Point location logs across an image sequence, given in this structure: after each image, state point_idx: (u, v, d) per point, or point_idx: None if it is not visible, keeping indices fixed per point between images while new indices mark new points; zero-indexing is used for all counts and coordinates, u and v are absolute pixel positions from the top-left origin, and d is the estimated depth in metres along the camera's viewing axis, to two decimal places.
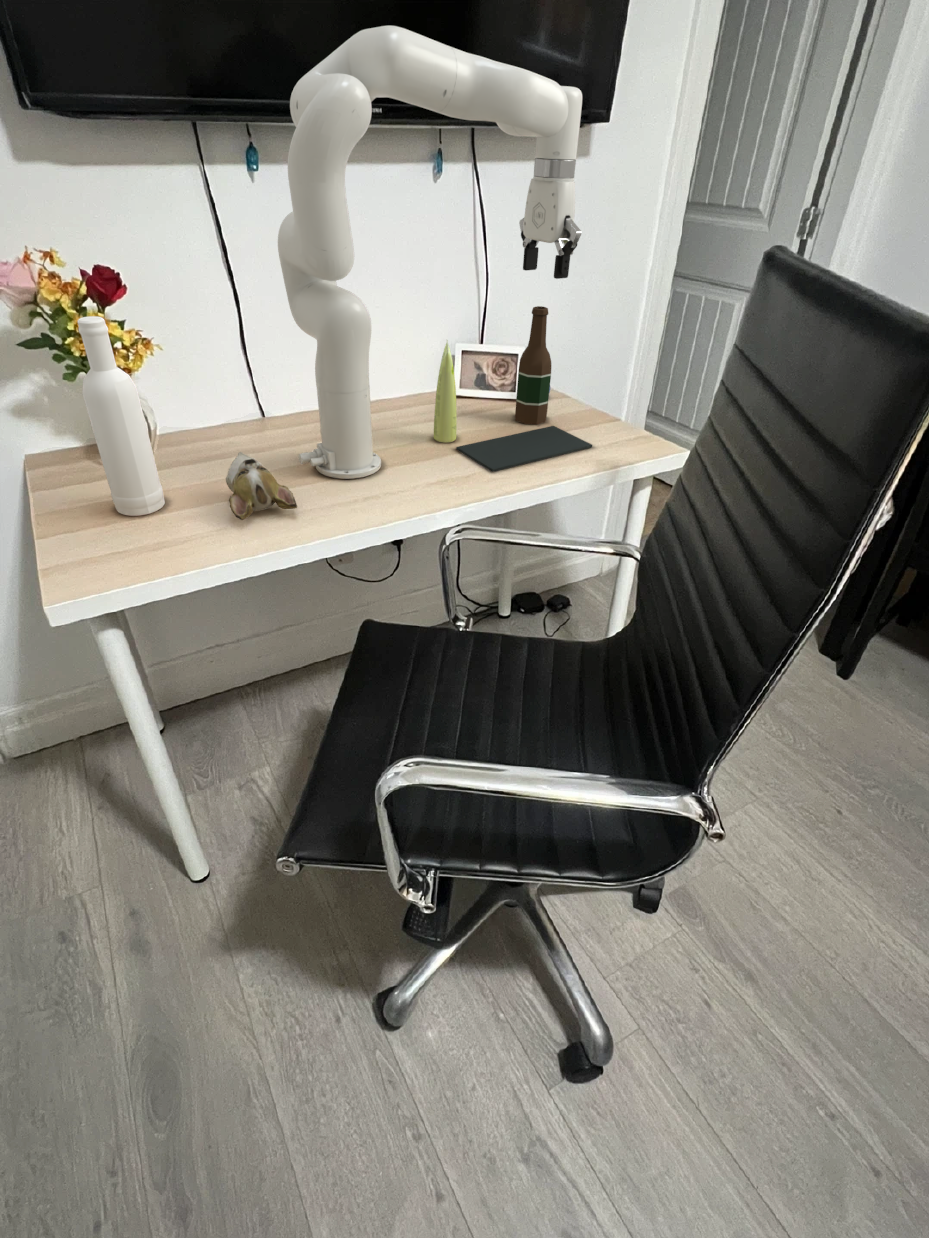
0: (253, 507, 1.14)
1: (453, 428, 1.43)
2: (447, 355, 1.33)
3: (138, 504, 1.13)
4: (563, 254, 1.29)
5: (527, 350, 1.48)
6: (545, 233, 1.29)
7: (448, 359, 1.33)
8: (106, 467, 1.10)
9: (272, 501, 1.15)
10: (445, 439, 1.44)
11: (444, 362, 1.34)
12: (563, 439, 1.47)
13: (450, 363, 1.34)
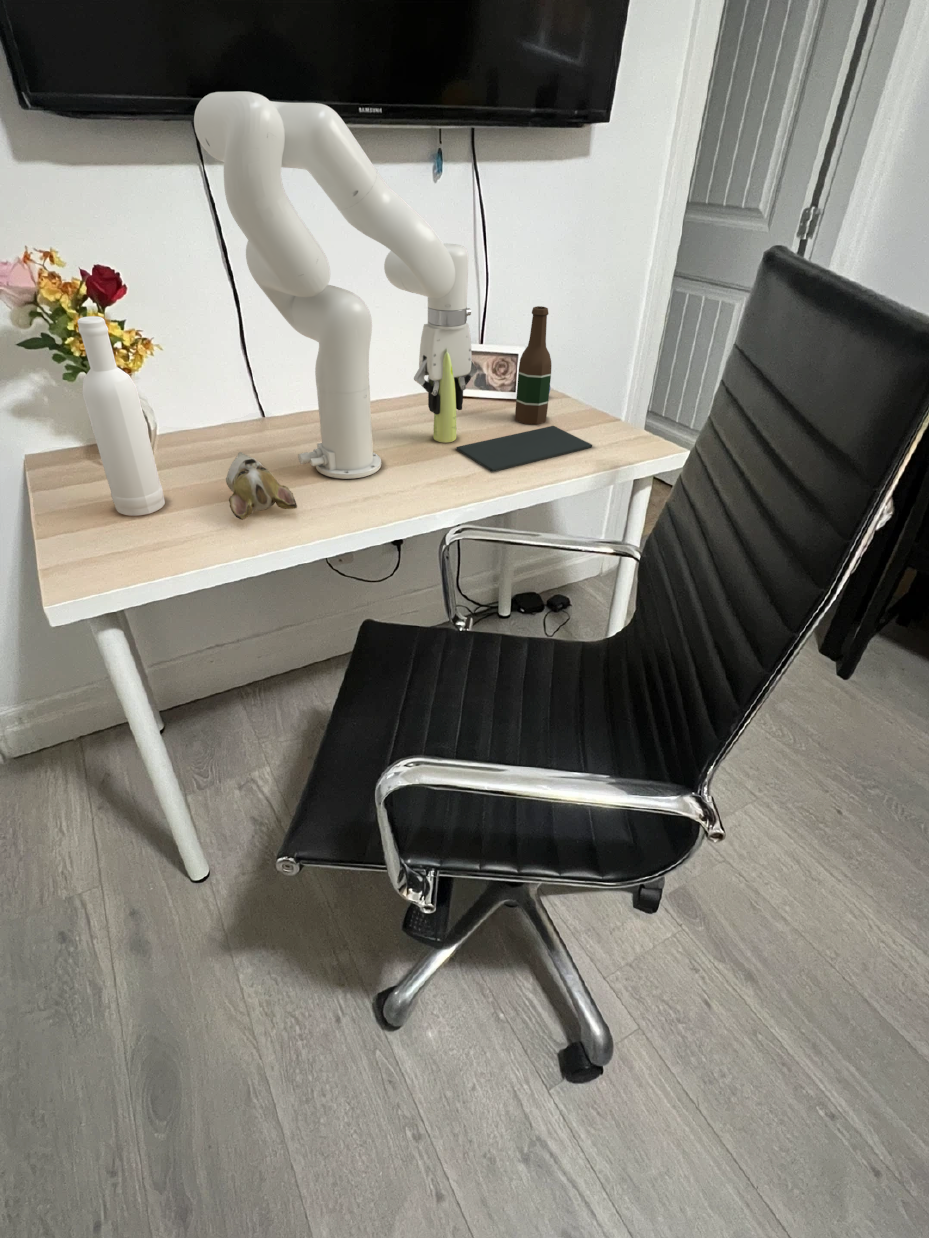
0: (253, 507, 1.14)
1: (453, 428, 1.43)
2: (446, 355, 1.33)
3: (138, 504, 1.13)
4: (427, 391, 1.39)
5: (527, 350, 1.48)
6: None
7: (447, 359, 1.33)
8: (106, 467, 1.10)
9: (272, 501, 1.15)
10: (445, 439, 1.44)
11: (443, 362, 1.34)
12: (563, 439, 1.47)
13: (449, 363, 1.34)
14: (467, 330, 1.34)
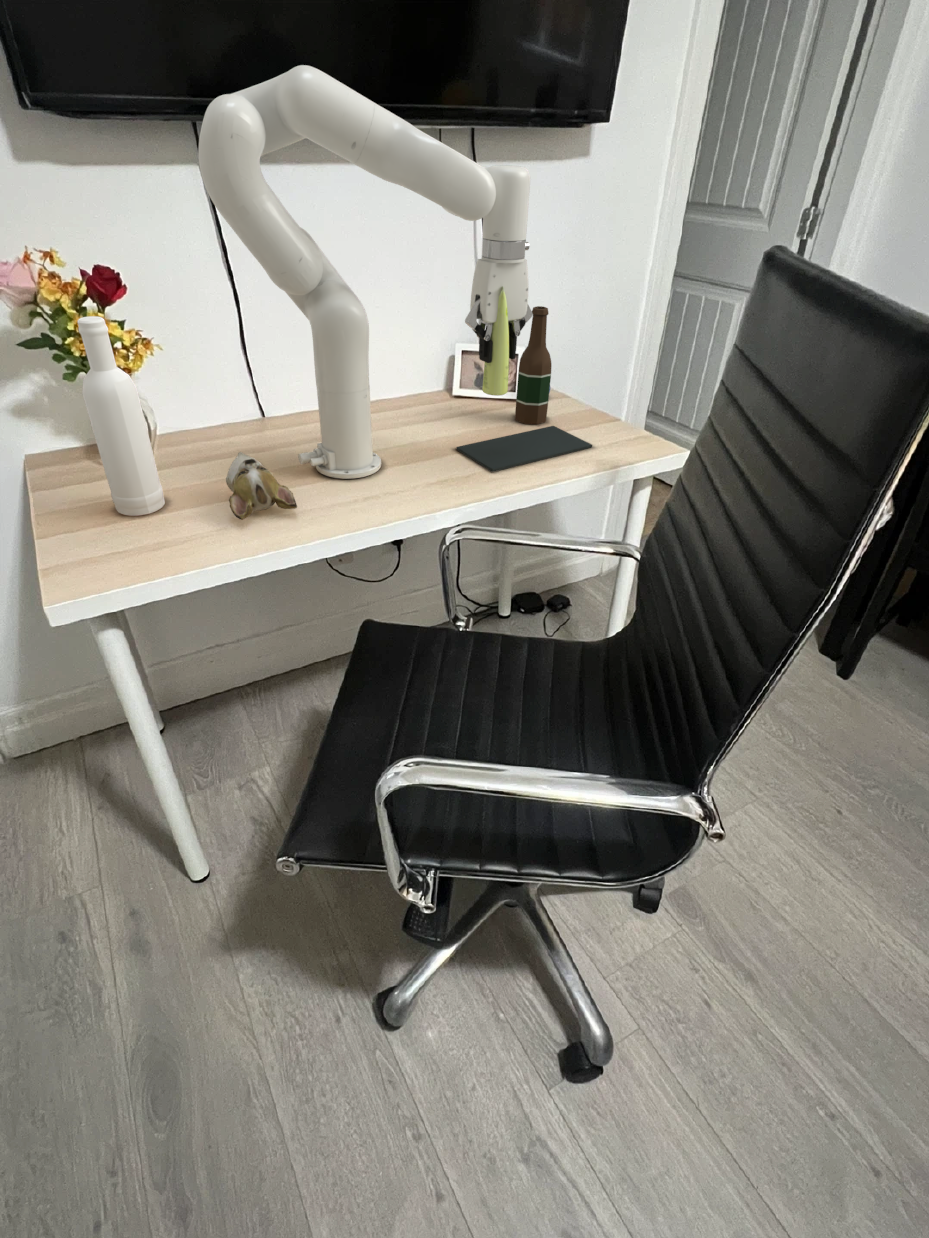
0: (253, 507, 1.14)
1: (505, 380, 1.30)
2: (502, 294, 1.19)
3: (138, 504, 1.13)
4: (478, 336, 1.25)
5: (527, 350, 1.48)
6: None
7: (503, 298, 1.20)
8: (106, 467, 1.10)
9: (272, 501, 1.15)
10: (496, 392, 1.31)
11: (498, 302, 1.20)
12: (563, 439, 1.47)
13: (505, 303, 1.21)
14: (525, 267, 1.20)
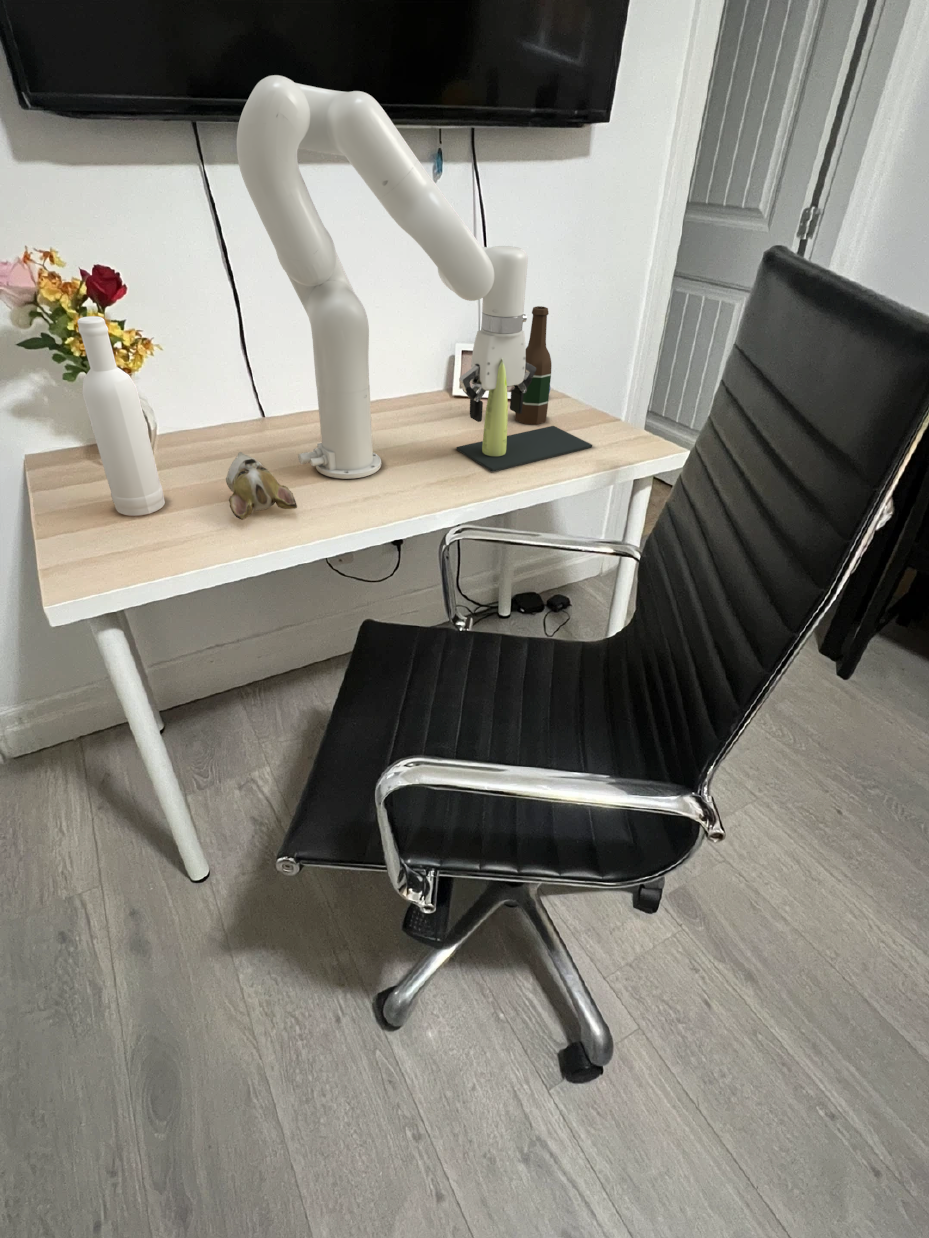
0: (253, 507, 1.14)
1: (503, 442, 1.37)
2: (501, 366, 1.26)
3: (138, 504, 1.13)
4: (469, 397, 1.30)
5: (527, 350, 1.48)
6: None
7: (502, 370, 1.27)
8: (106, 467, 1.10)
9: (272, 501, 1.15)
10: (495, 453, 1.37)
11: (498, 373, 1.27)
12: (563, 439, 1.47)
13: (504, 374, 1.28)
14: (522, 338, 1.27)
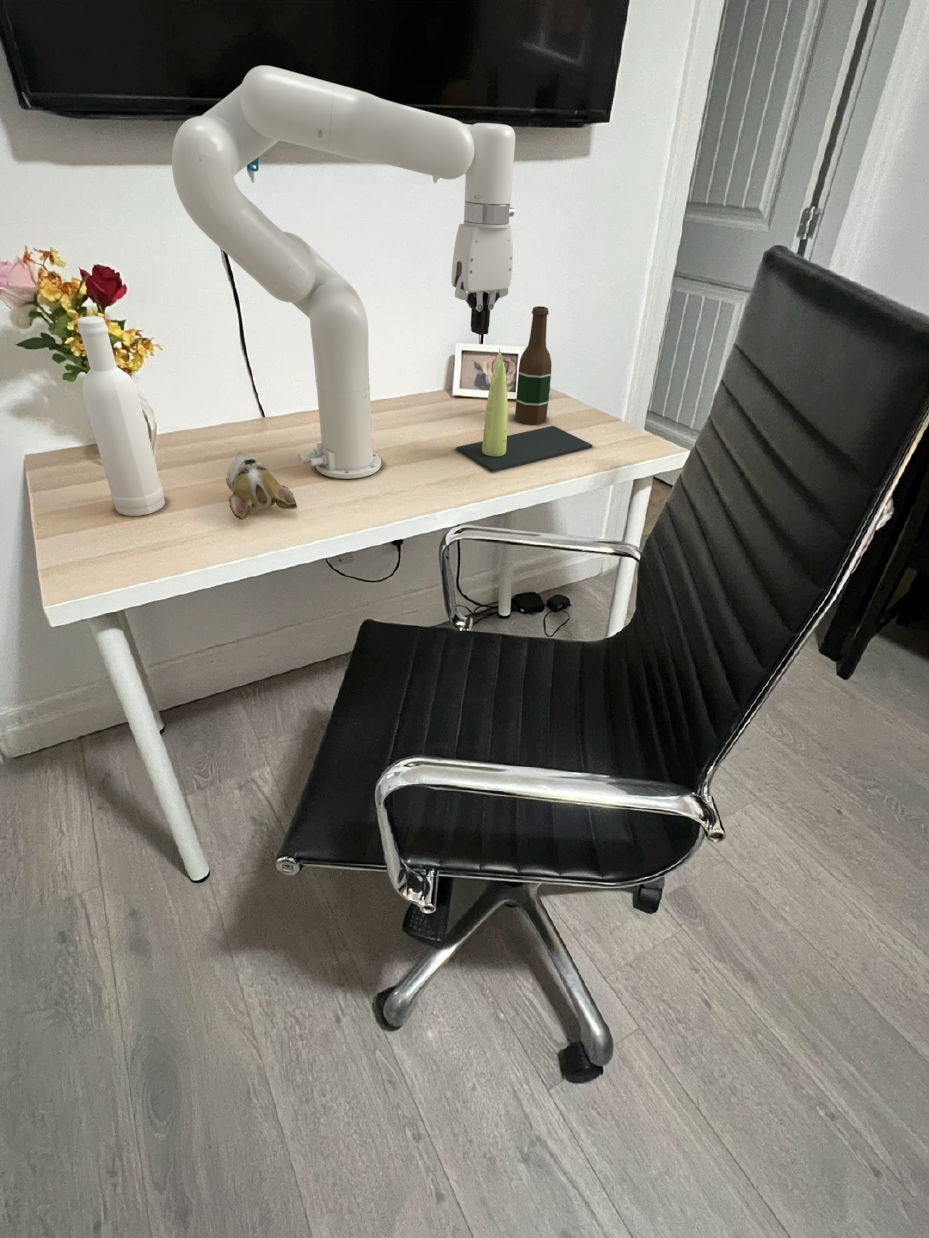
0: (253, 507, 1.14)
1: (503, 442, 1.37)
2: (501, 366, 1.26)
3: (138, 504, 1.13)
4: (470, 307, 1.21)
5: (527, 350, 1.48)
6: None
7: (502, 370, 1.27)
8: (106, 467, 1.10)
9: (272, 501, 1.15)
10: (495, 453, 1.37)
11: (498, 373, 1.27)
12: (563, 439, 1.47)
13: (504, 374, 1.27)
14: (509, 233, 1.15)
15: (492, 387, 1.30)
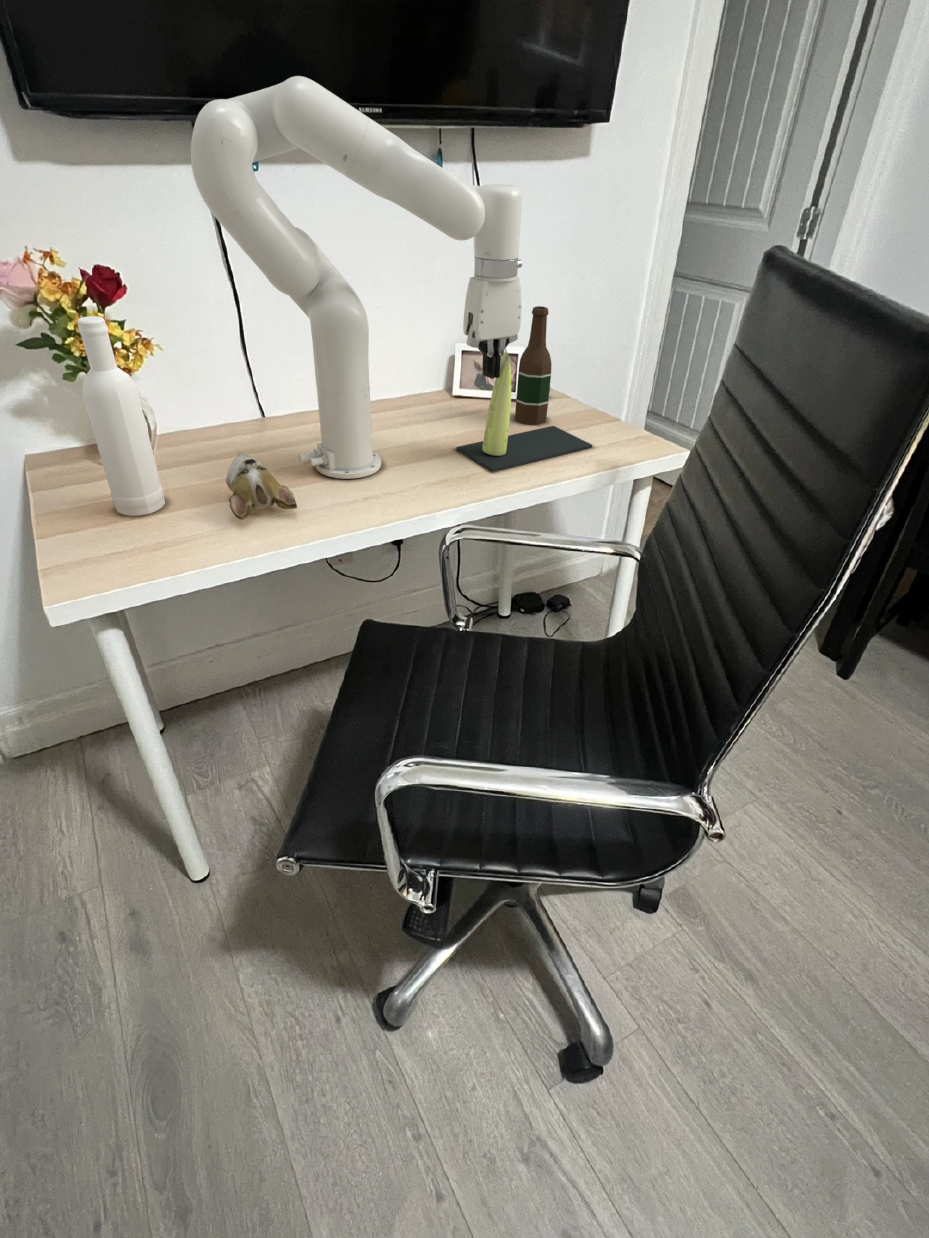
0: (253, 507, 1.14)
1: (504, 441, 1.37)
2: (508, 364, 1.26)
3: (138, 504, 1.13)
4: (481, 352, 1.27)
5: (527, 350, 1.48)
6: None
7: (508, 368, 1.27)
8: (106, 467, 1.10)
9: (272, 501, 1.15)
10: (495, 452, 1.37)
11: (503, 371, 1.27)
12: (563, 439, 1.47)
13: (509, 373, 1.28)
14: (518, 284, 1.20)
15: (497, 385, 1.30)
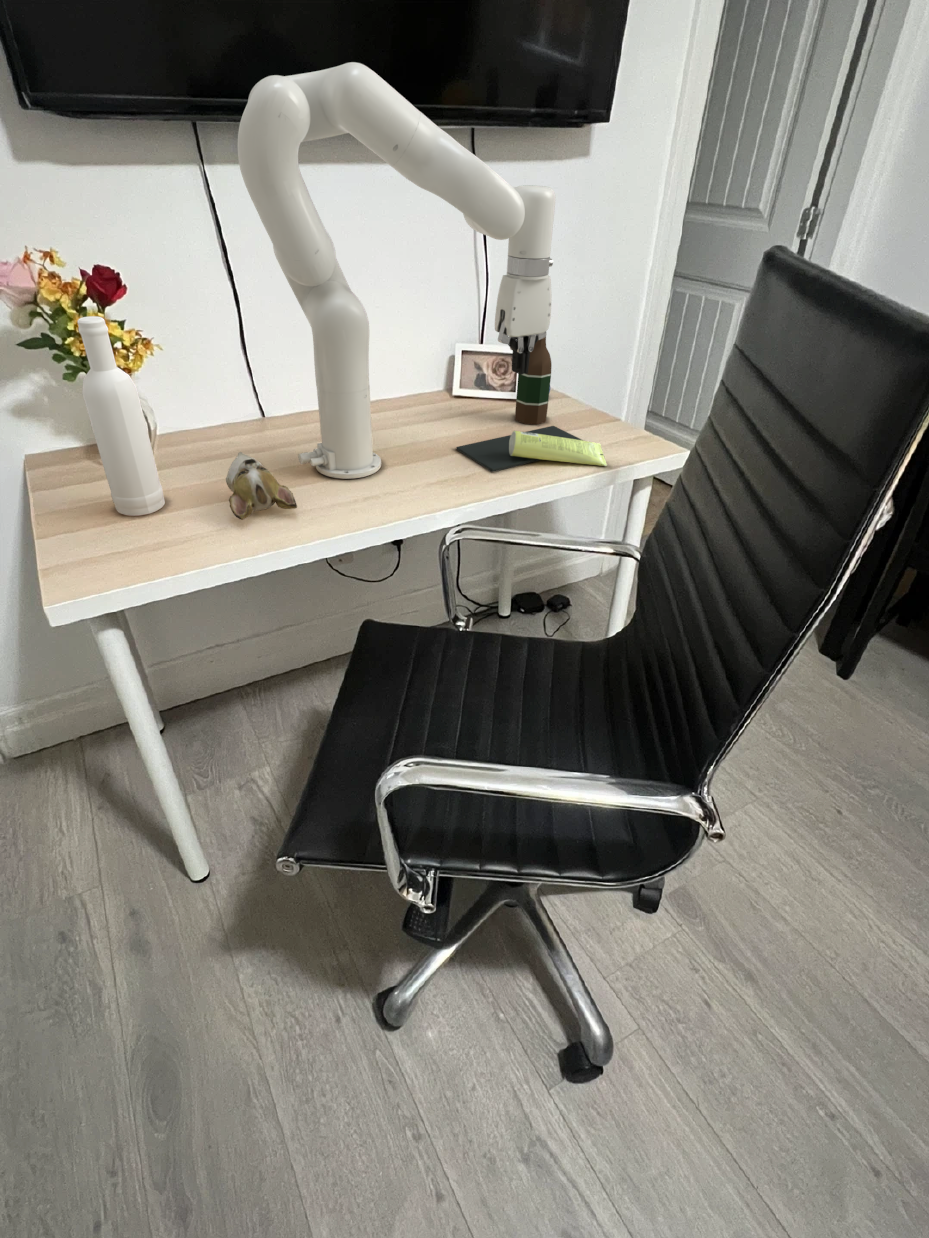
0: (253, 507, 1.14)
1: None
2: (602, 464, 1.37)
3: (138, 504, 1.13)
4: (511, 349, 1.30)
5: None
6: None
7: (597, 464, 1.37)
8: (106, 467, 1.10)
9: (272, 501, 1.15)
10: (516, 451, 1.35)
11: (595, 460, 1.37)
12: None
13: (592, 464, 1.38)
14: (549, 282, 1.24)
15: (580, 451, 1.36)
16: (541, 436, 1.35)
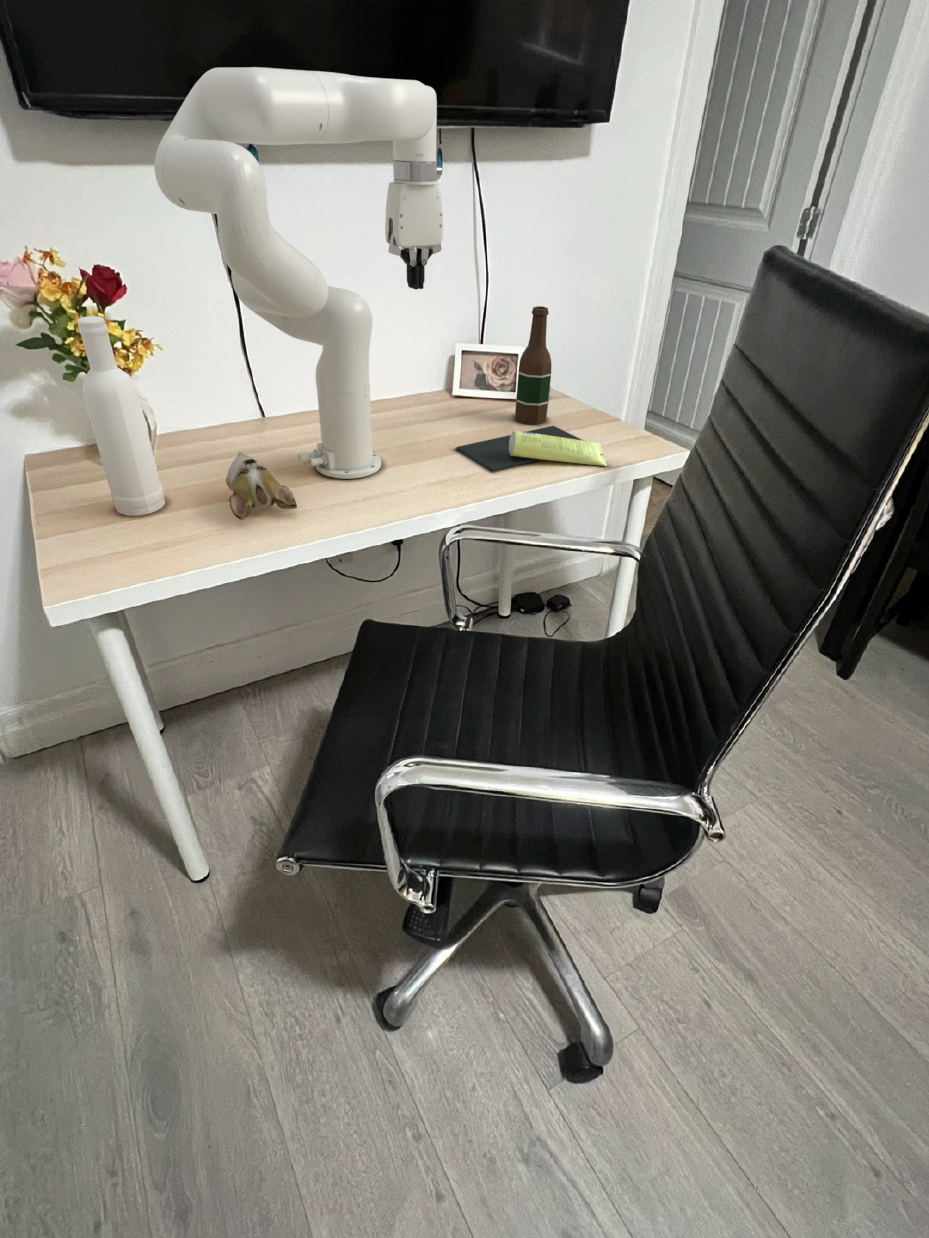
0: (253, 507, 1.14)
1: None
2: (602, 464, 1.37)
3: (138, 504, 1.13)
4: (405, 262, 1.28)
5: (527, 350, 1.48)
6: None
7: (597, 464, 1.37)
8: (106, 467, 1.10)
9: (272, 501, 1.15)
10: (516, 451, 1.35)
11: (595, 460, 1.37)
12: None
13: (592, 464, 1.38)
14: (437, 190, 1.22)
15: (580, 451, 1.36)
16: (541, 436, 1.35)
